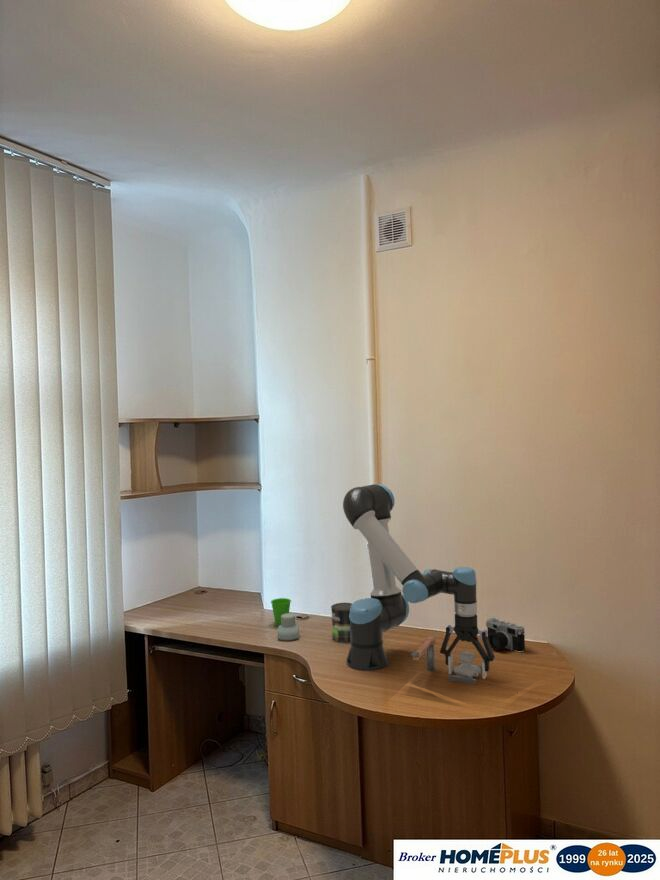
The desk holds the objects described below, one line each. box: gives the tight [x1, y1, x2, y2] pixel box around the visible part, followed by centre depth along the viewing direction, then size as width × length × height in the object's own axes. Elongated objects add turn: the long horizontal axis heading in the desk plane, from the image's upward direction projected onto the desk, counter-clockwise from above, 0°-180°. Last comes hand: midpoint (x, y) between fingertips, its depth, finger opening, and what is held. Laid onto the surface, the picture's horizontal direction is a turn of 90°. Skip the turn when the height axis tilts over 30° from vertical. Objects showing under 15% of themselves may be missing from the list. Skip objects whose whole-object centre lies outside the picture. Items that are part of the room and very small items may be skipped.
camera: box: [485, 616, 526, 652], centre depth 233 cm, size 18×10×10 cm, turn 34°
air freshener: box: [277, 612, 300, 642], centre depth 250 cm, size 11×8×10 cm
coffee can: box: [330, 602, 353, 644], centre depth 247 cm, size 10×10×14 cm
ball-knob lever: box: [411, 635, 436, 661], centre depth 206 cm, size 20×4×2 cm, turn 154°
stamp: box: [453, 650, 482, 679], centre depth 207 cm, size 9×7×8 cm
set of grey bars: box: [425, 644, 482, 685], centre depth 210 cm, size 20×13×10 cm, turn 61°
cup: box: [270, 597, 292, 628], centre depth 267 cm, size 9×9×11 cm
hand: (467, 677), depth 207 cm, fingers open, 11 cm apart
